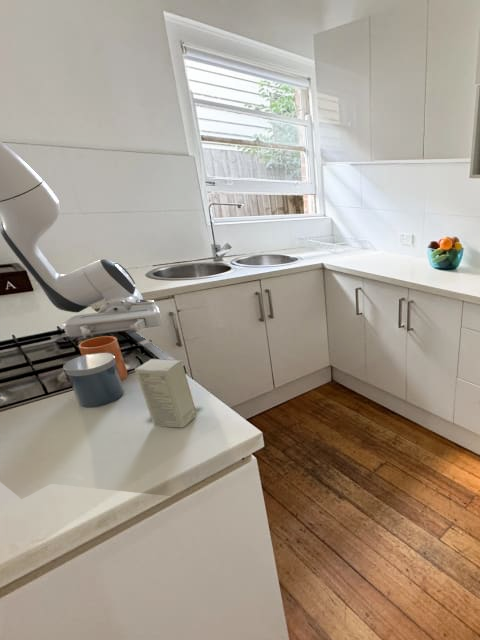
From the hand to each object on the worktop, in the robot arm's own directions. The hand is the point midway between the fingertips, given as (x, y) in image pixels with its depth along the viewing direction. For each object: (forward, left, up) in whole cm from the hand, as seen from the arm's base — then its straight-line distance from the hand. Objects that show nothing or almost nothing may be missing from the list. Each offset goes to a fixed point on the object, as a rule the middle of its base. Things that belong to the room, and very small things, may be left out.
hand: (110, 332), depth 93 cm
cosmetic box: (+37, -10, -7) cm, 39 cm away
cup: (+9, -7, -7) cm, 14 cm away
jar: (+17, -12, -7) cm, 22 cm away
